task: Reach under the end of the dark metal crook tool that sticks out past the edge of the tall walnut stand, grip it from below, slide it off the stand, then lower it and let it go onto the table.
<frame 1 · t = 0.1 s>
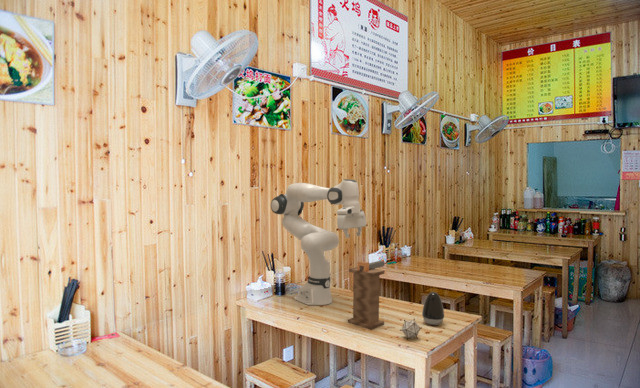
hand: (353, 236, 224), 39 cm above the table, tool pointing down, fingers open, 8 cm apart
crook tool: (372, 268, 209), point 26 cm above the table, touching walnut stand
walnut stand: (365, 323, 206), on the table
pump dispenser: (432, 323, 208), on the table
game die: (410, 338, 189), on the table
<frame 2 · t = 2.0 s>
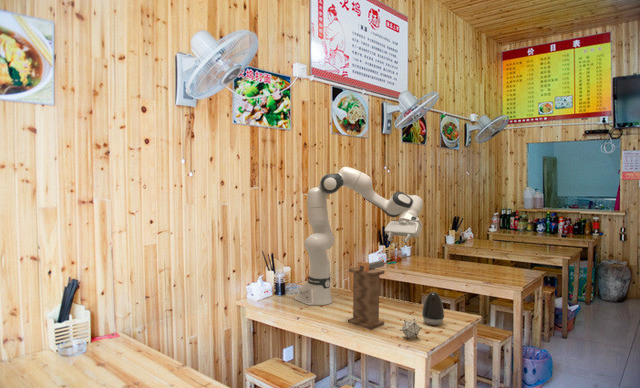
hand: (397, 241, 228), 36 cm above the table, tool tilted 45°, fingers open, 8 cm apart
nothing on the table moved.
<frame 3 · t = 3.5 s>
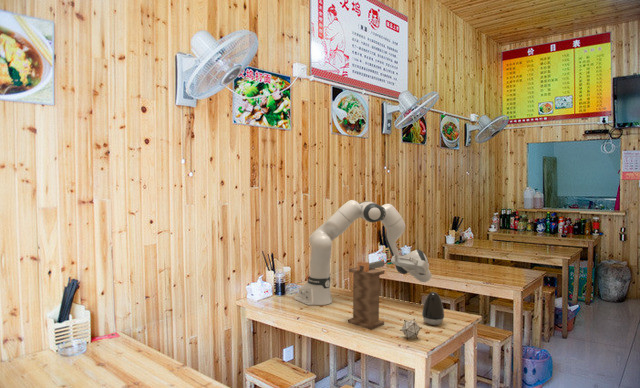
hand: (402, 257, 229), 28 cm above the table, tool pointing upward, fingers open, 8 cm apart
nothing on the table moved.
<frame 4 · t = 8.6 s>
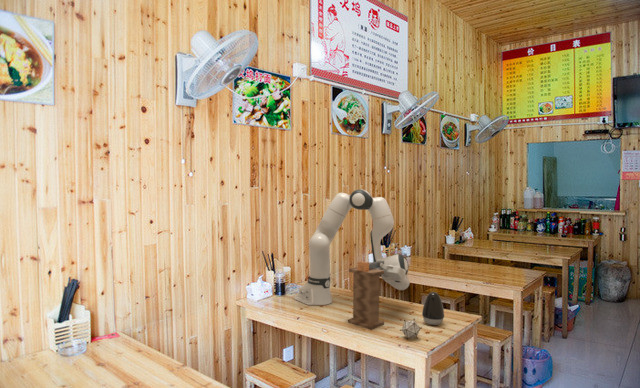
hand: (376, 263, 211), 28 cm above the table, tool pointing upward, fingers closed on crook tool, 2 cm apart
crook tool: (372, 268, 209), point 26 cm above the table, touching gripper, walnut stand
everything else where it was.
when the fingers open (19 cm above the table, at t = 15.4 s): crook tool drops 17 cm, on the table.
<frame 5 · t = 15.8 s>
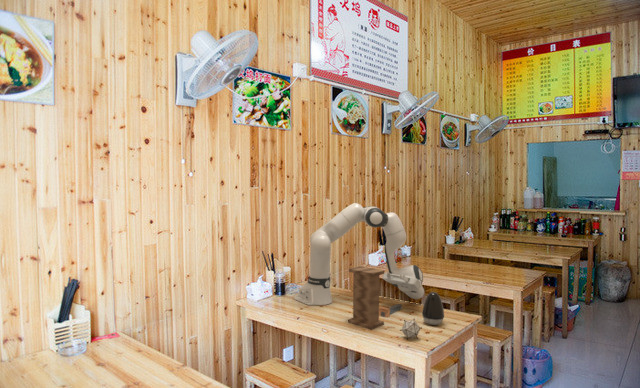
hand: (394, 275, 223), 19 cm above the table, tool pointing upward, fingers open, 7 cm apart
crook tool: (391, 312, 224), on the table
everything else where it was.
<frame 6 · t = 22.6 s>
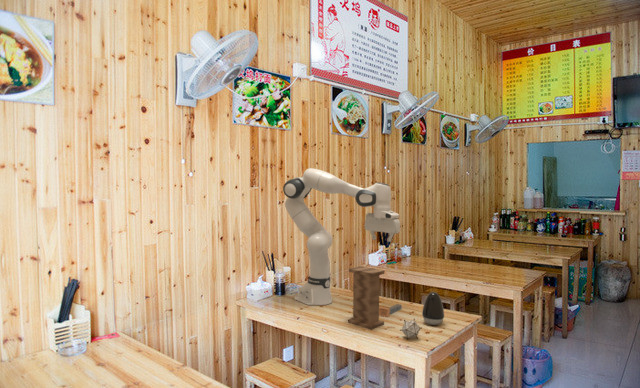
hand: (381, 240, 224), 37 cm above the table, tool pointing down, fingers open, 8 cm apart
nothing on the table moved.
at the end: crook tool inside the target area (2.9 cm from its centre), on the table; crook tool touching table; the gripper is holding nothing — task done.
